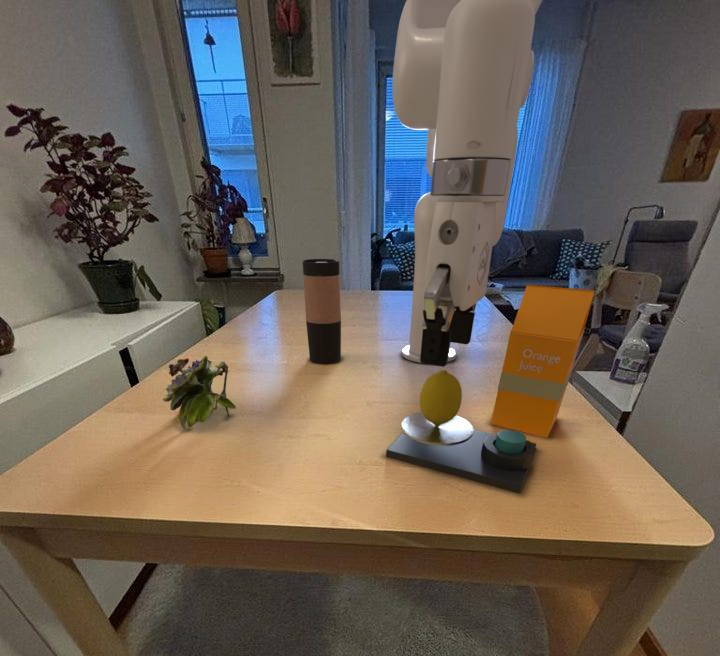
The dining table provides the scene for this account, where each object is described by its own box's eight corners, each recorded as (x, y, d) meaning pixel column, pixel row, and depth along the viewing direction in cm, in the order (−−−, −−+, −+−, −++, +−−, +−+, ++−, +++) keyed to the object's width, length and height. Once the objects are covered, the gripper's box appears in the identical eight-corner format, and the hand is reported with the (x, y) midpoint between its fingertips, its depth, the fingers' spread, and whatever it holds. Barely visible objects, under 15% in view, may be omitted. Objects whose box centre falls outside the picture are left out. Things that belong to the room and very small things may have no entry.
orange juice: (547, 438, 60) (592, 294, 48) (489, 424, 63) (518, 288, 52) (556, 419, 65) (598, 286, 54) (503, 407, 69) (532, 281, 58)
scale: (417, 423, 64) (419, 406, 62) (536, 451, 56) (542, 432, 55) (385, 457, 55) (386, 438, 53) (521, 494, 48) (527, 474, 46)
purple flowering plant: (197, 438, 70) (194, 372, 71) (252, 433, 68) (249, 364, 68) (149, 429, 59) (146, 351, 60) (213, 422, 57) (209, 340, 57)
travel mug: (302, 361, 89) (294, 261, 78) (318, 352, 95) (313, 258, 84) (333, 366, 87) (329, 263, 76) (347, 356, 93) (345, 259, 81)
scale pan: (416, 408, 61) (417, 406, 61) (481, 422, 57) (481, 420, 57) (389, 435, 54) (390, 432, 54) (461, 453, 50) (461, 450, 50)
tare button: (498, 439, 54) (500, 427, 53) (525, 445, 53) (528, 433, 52) (492, 450, 51) (494, 438, 50) (520, 457, 50) (524, 445, 49)
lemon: (457, 436, 53) (466, 378, 48) (415, 432, 54) (421, 375, 49) (457, 419, 57) (465, 364, 53) (418, 415, 58) (424, 361, 54)
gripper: (483, 181, 32) (454, 380, 42) (521, 186, 45) (491, 339, 55) (400, 182, 35) (391, 368, 45) (457, 186, 48) (440, 332, 58)
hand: (446, 352), depth 50 cm, fingers open, 9 cm apart
